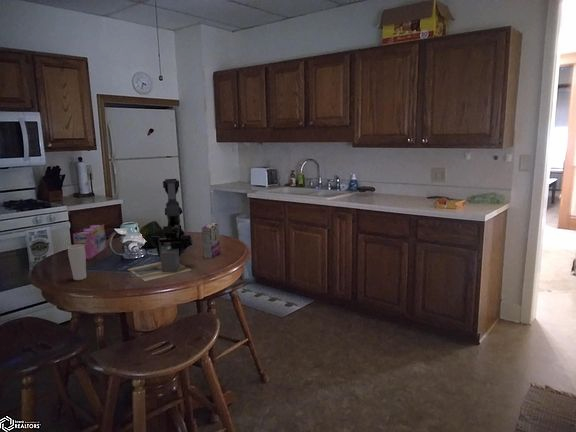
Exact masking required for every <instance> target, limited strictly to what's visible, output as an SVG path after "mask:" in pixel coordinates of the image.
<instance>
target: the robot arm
mask: <svg viewBox="0 0 576 432" xmlns="http://www.w3.org/2000/svg"><path fill="white" fill-rule="evenodd" d="M162 187H163V189H164V191H165V193H166V194H167V202H166V203H165V208H164V215H165V216H166V220H167V226H165V225H164V226H163V227H162V229H163V234H164V237H165V239H160V237H159V236H151V237H150V242H151V244H152V246H151V247H153V248H155V249H156V250H157V256H158V258H160V259H161V254H160V253H161V252H162V245H163V244H164V243H165V244H167V243H168V244H170V249H179V258H181V256H182V255H183V253H184V252H185V251H186V250H187V249H188V248H189V247H190V246H193V237H192V236H191V235H190V234H185V231H184V229H183V228H182V225H181V217H180V215H182V214H183V213H184V212H183V208H181V207H180V203H179V202H178V201H177V194H178V192H179V188H180V180H179V179H178V180H177V178H165V179H164V181H162ZM162 243H163V244H162ZM161 244H162V245H161Z"/></svg>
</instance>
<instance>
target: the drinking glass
mask: <svg viewBox="0 0 576 432" xmlns="http://www.w3.org/2000/svg"><path fill="white" fill-rule="evenodd" d="M67 255H68V260H69V264H70V268H71V272H72V273H71V274H72V279H73V280H74V281H81V280H85V279H86V278H87V261H86V260H87V259H86V254H85V247H84V245H83V244H76V245H74V244H71V245H69V246H67Z"/></svg>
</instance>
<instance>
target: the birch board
mask: <svg viewBox="0 0 576 432" xmlns="http://www.w3.org/2000/svg"><path fill="white" fill-rule="evenodd" d="M127 271H129V272H131V273H132V274H133V275H135V276H137V277H138V278H140V280H141V279H142V280H143V281H144V282H147V281H152V280H157V279H161V278H164V277H167V276H173V275H176V274H180V273H185V272H189V271H192V269H191V268H189V267H188V266H186V265H184V264H181V263H180V268H179V269H178V270H177V272H162V265H161V261H158V262H153V263H149V264H144V265H141V266H136V267H131V268H128V269H127Z"/></svg>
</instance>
